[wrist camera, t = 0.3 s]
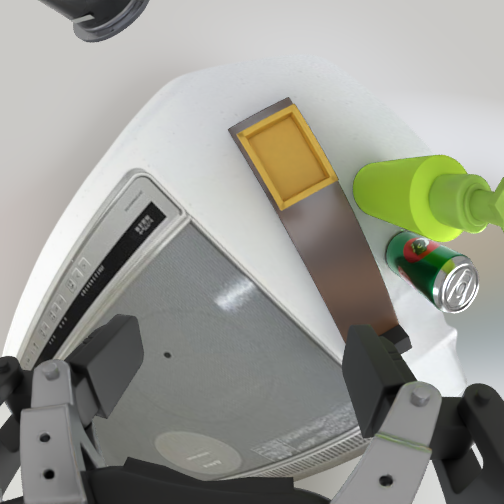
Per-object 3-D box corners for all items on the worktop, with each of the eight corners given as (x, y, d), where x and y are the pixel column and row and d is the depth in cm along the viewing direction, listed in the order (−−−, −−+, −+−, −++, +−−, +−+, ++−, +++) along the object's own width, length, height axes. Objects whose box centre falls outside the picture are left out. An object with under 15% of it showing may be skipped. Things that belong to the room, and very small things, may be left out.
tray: (239, 138, 26) (236, 134, 24) (292, 110, 25) (294, 103, 23) (279, 208, 28) (281, 211, 25) (332, 179, 27) (338, 179, 24)
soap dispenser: (384, 233, 29) (510, 307, 10) (341, 190, 28) (459, 212, 9) (415, 196, 28) (555, 227, 8) (375, 151, 27) (511, 125, 8)
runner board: (229, 131, 27) (227, 129, 26) (287, 100, 26) (288, 96, 25) (353, 359, 33) (355, 364, 32) (400, 333, 32) (403, 338, 31)
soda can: (377, 264, 30) (427, 308, 18) (395, 223, 29) (456, 248, 17) (409, 278, 30) (464, 323, 18) (427, 240, 29) (490, 270, 17)
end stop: (349, 351, 31) (355, 365, 29) (399, 323, 30) (408, 335, 27) (354, 362, 32) (360, 376, 29) (403, 335, 31) (412, 347, 28)
